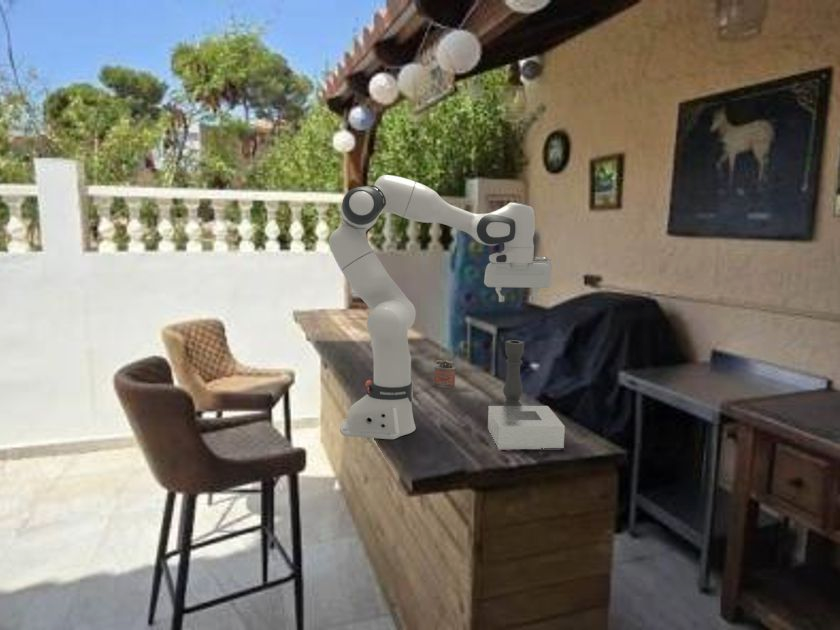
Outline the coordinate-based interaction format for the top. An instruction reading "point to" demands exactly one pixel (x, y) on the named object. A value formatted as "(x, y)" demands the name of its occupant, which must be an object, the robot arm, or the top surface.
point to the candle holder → (513, 373)
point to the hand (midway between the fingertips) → (516, 301)
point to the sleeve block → (525, 427)
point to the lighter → (444, 374)
